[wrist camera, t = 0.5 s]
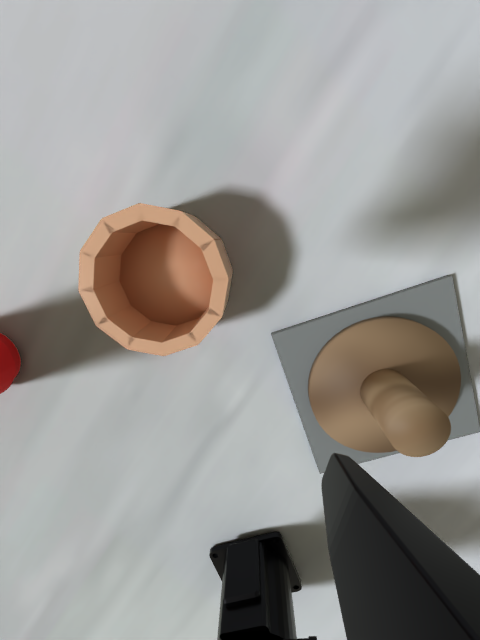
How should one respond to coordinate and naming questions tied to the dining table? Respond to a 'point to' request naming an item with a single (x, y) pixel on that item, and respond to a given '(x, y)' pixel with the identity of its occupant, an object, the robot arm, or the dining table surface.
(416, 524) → the robot arm
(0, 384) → the beverage can
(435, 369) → the lid
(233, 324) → the dining table surface
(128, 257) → the bowl
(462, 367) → the mat
